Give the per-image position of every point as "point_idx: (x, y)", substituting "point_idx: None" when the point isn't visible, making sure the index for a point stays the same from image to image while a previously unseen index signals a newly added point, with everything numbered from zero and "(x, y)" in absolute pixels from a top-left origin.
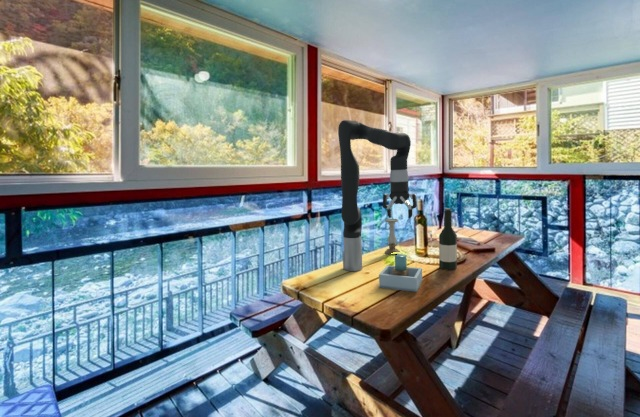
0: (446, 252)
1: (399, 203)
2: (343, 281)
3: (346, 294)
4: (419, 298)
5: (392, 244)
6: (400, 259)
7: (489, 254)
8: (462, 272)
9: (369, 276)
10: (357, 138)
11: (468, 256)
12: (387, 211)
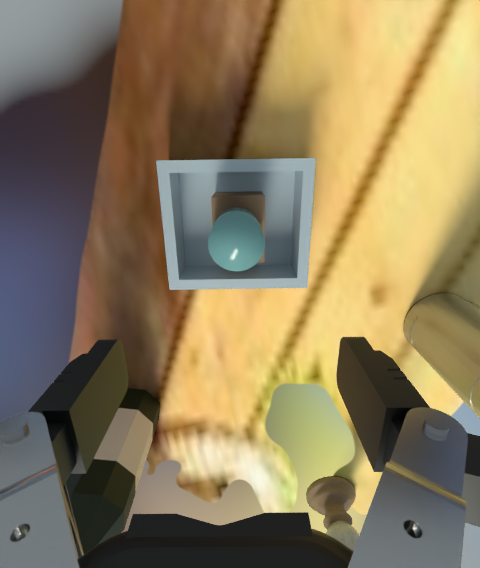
0: (112, 435)
1: (208, 531)
2: (452, 180)
3: (415, 37)
4: (144, 100)
5: (336, 519)
6: (230, 214)
7: None
8: None
9: (363, 262)
10: None
11: None
12: (414, 393)
